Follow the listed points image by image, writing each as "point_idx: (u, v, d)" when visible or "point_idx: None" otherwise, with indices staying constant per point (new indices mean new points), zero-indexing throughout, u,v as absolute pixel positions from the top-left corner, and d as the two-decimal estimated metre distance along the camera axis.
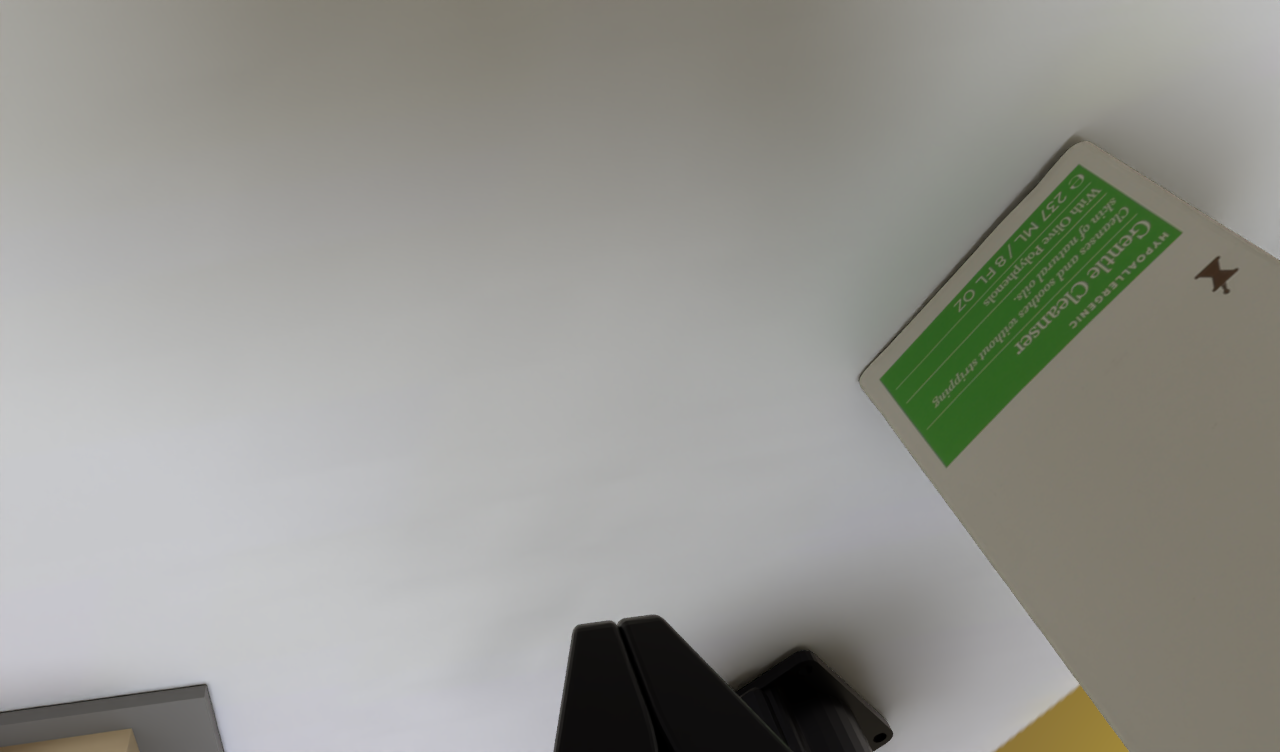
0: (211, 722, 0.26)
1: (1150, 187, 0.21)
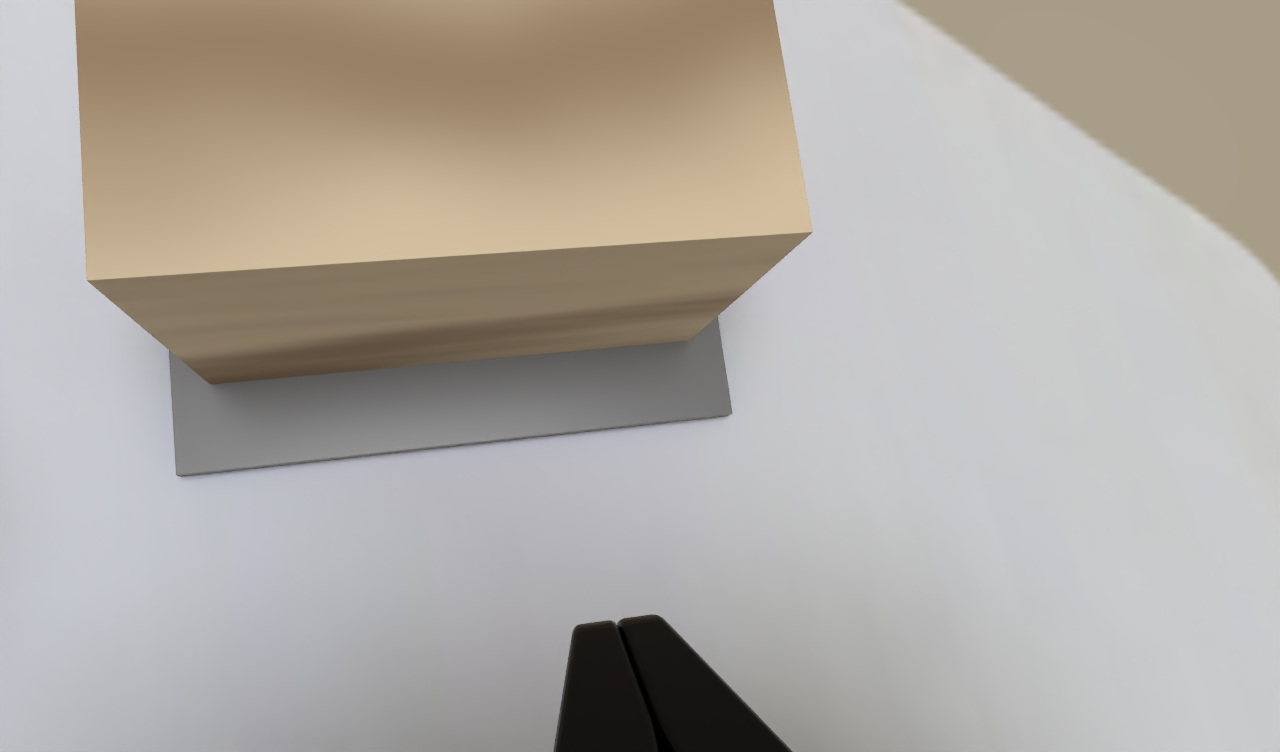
0: (689, 418, 0.23)
1: None
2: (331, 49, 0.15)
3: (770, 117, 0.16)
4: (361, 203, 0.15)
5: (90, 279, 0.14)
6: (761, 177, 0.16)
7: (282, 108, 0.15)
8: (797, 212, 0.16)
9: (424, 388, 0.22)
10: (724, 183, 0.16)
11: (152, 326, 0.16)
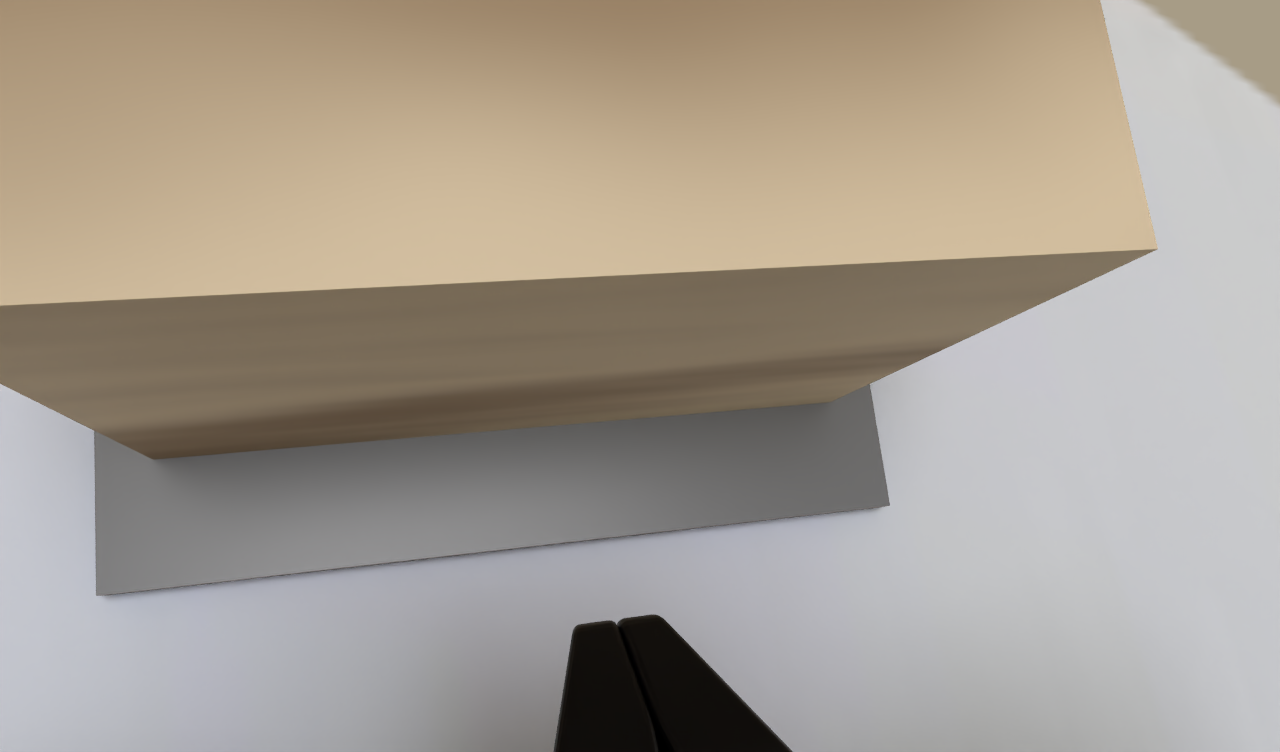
0: (831, 512, 0.17)
1: None
2: None
3: (1078, 57, 0.10)
4: (398, 180, 0.08)
5: None
6: (1071, 154, 0.10)
7: (257, 4, 0.08)
8: (1131, 215, 0.10)
9: (463, 467, 0.16)
10: (1013, 164, 0.09)
11: (30, 388, 0.10)
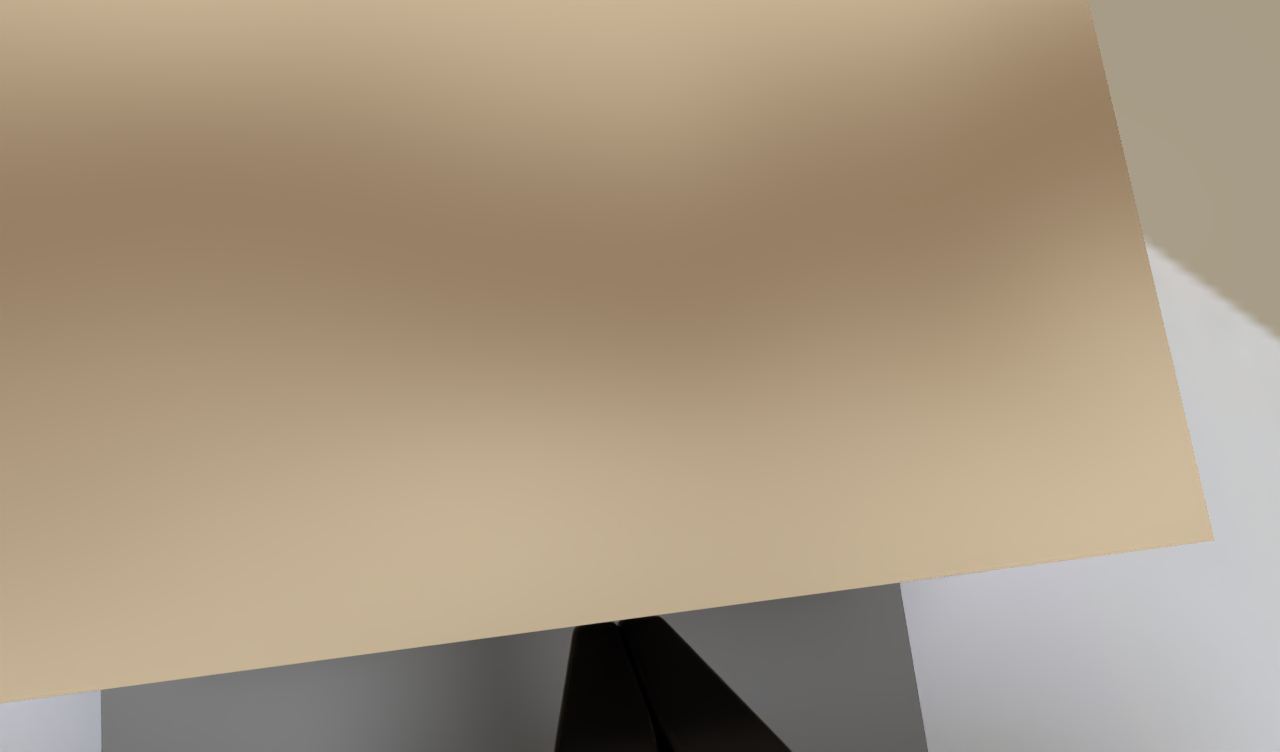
0: None
1: None
2: (372, 222, 0.08)
3: (1129, 331, 0.09)
4: (427, 526, 0.08)
5: None
6: (1123, 440, 0.09)
7: (277, 336, 0.08)
8: (1186, 505, 0.09)
9: None
10: (1063, 457, 0.09)
11: None
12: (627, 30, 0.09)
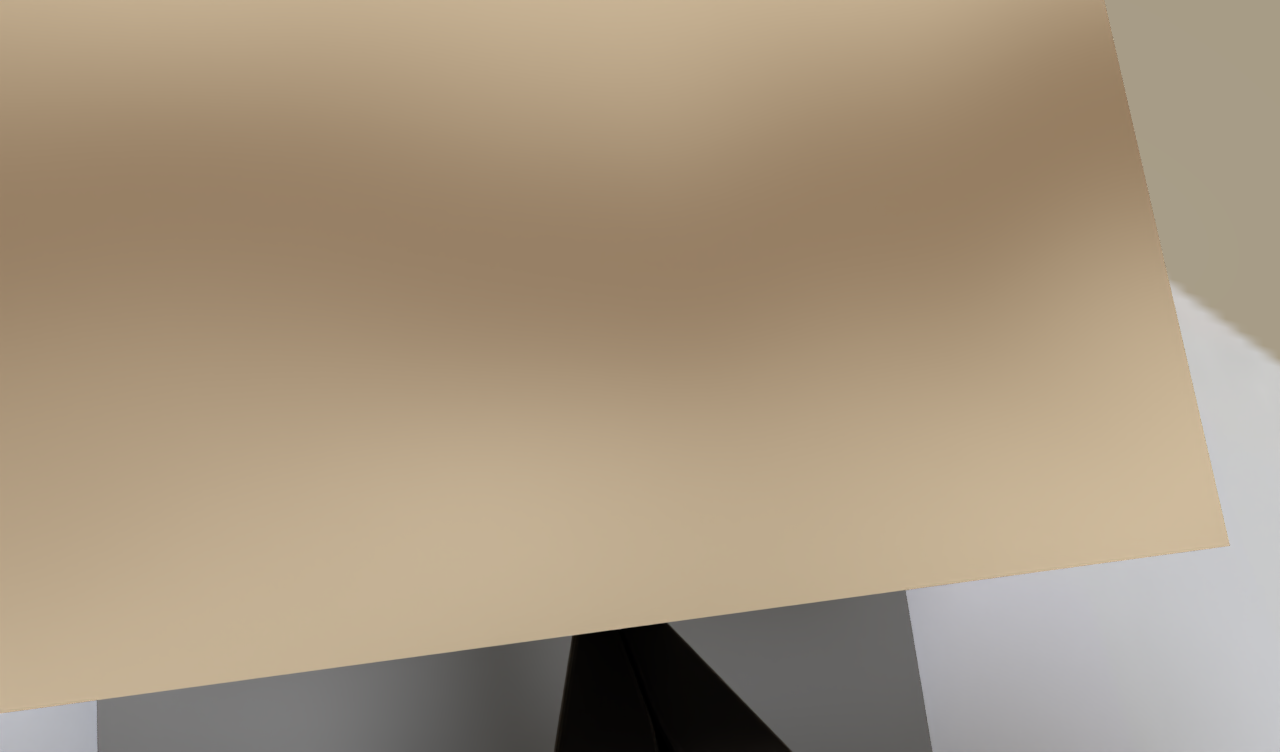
0: None
1: None
2: (369, 219, 0.08)
3: (1145, 332, 0.09)
4: (425, 531, 0.07)
5: None
6: (1137, 444, 0.09)
7: (272, 338, 0.07)
8: (1202, 509, 0.09)
9: None
10: (1077, 460, 0.09)
11: None
12: (631, 22, 0.09)
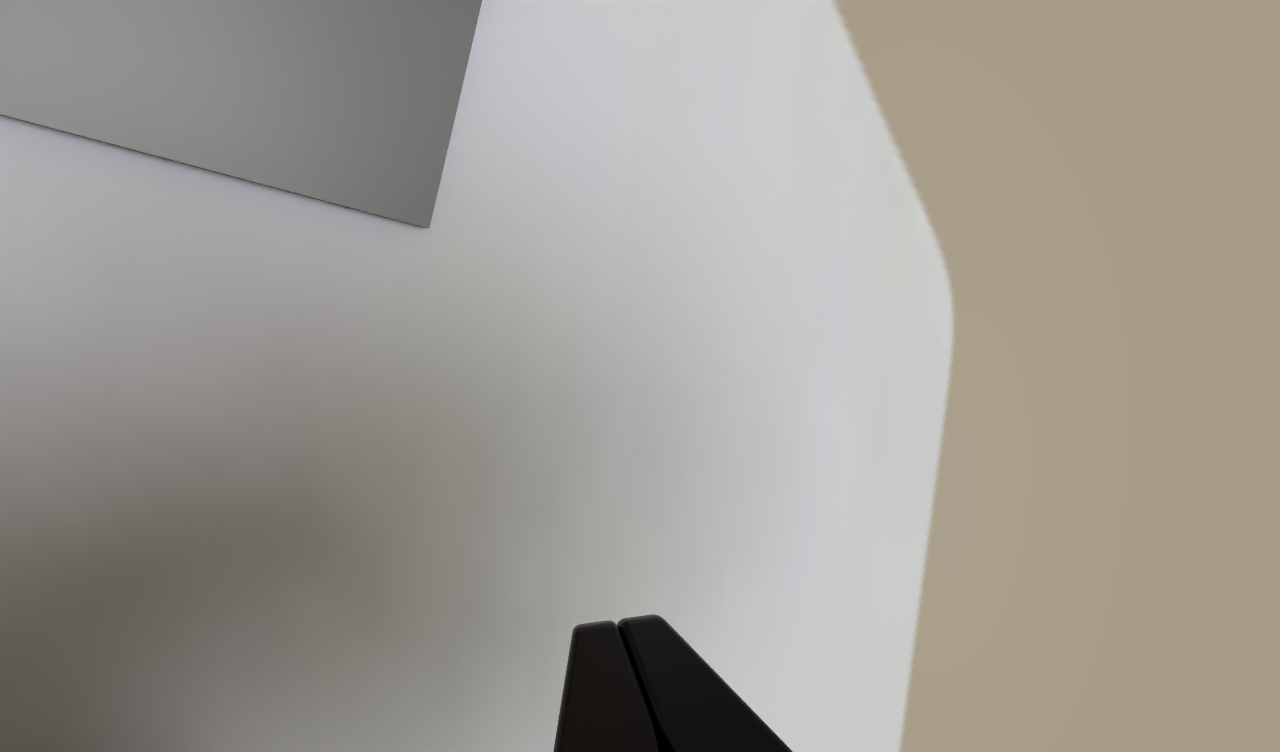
0: (381, 215, 0.21)
1: None
2: None
3: None
4: None
5: None
6: None
7: None
8: None
9: (71, 55, 0.18)
10: None
11: None
12: None
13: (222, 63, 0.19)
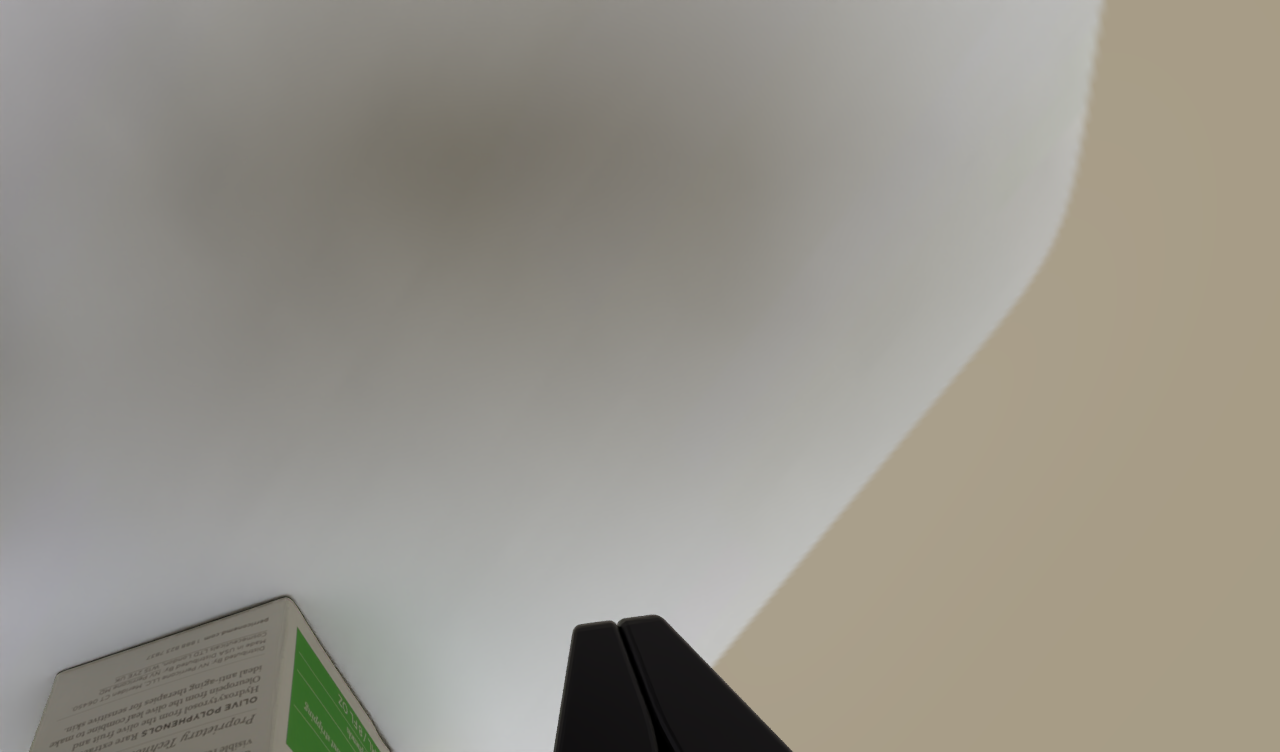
0: None
1: None
2: None
3: None
4: None
5: None
6: None
7: None
8: None
9: None
10: None
11: None
12: None
13: None
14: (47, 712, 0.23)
